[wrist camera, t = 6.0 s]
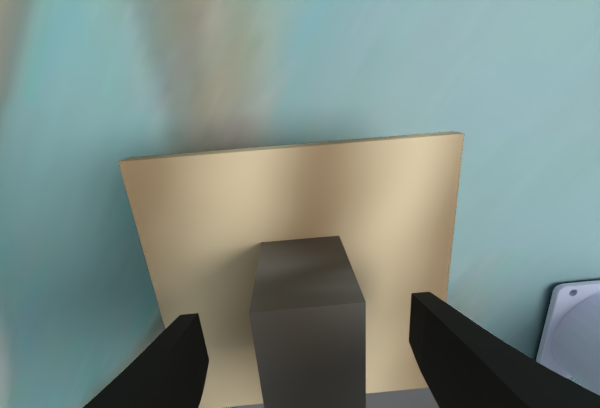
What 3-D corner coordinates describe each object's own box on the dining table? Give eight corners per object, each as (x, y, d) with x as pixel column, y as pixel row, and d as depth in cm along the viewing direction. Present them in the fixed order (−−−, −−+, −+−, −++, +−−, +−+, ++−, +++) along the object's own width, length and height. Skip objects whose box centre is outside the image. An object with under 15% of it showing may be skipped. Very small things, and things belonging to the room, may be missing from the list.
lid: (452, 131, 11) (568, 151, 6) (429, 372, 15) (491, 490, 10) (129, 157, 11) (16, 196, 6) (193, 394, 15) (151, 525, 10)
